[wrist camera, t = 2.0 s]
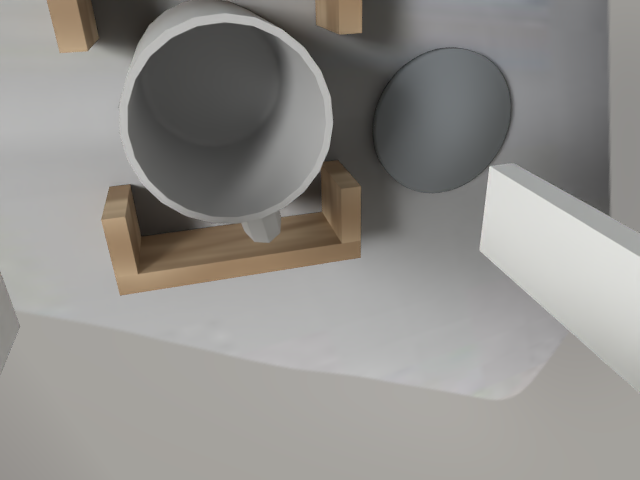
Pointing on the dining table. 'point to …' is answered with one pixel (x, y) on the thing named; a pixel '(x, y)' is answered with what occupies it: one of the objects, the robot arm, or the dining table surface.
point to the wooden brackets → (228, 240)
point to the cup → (224, 116)
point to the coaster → (441, 119)
